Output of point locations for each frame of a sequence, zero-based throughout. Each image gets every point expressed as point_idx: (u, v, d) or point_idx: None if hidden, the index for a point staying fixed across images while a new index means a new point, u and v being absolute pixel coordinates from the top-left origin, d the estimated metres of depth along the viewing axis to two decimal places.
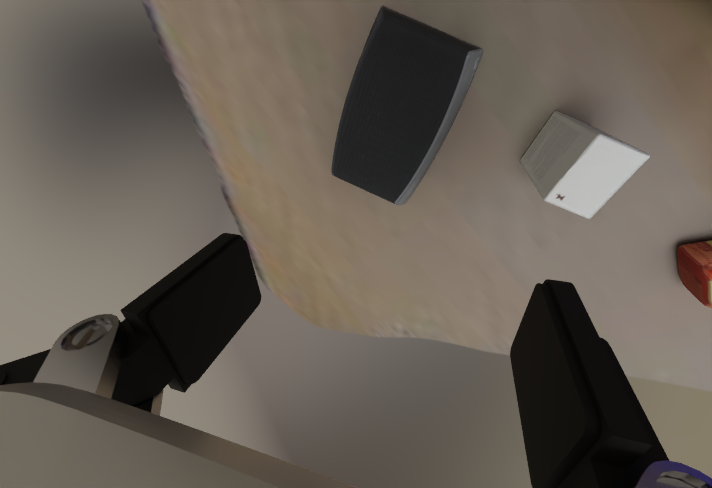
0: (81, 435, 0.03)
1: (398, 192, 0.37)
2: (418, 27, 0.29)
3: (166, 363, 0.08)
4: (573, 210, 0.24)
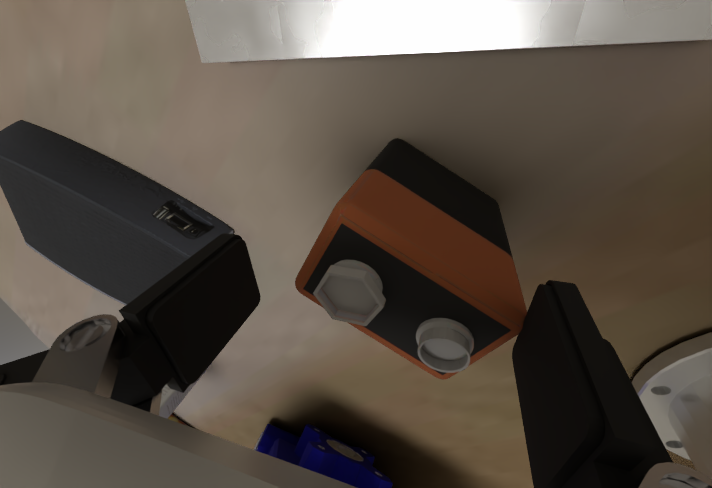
0: (81, 435, 0.03)
1: (36, 248, 0.26)
2: None
3: (165, 364, 0.08)
4: None
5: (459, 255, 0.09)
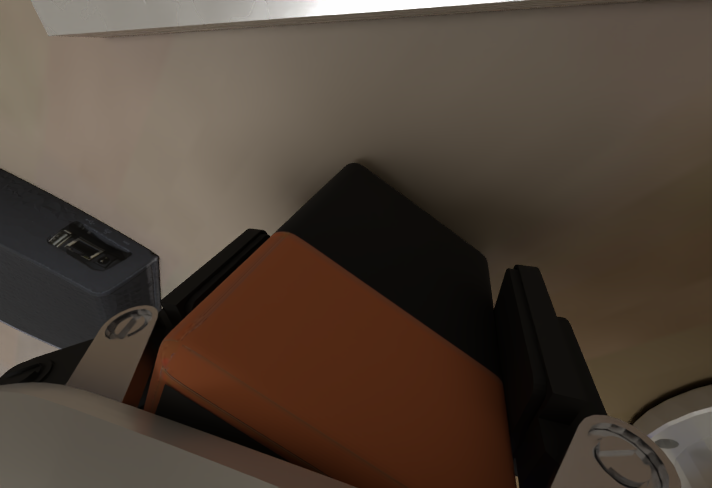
0: (81, 435, 0.03)
1: None
2: None
3: None
4: None
5: (408, 424, 0.05)
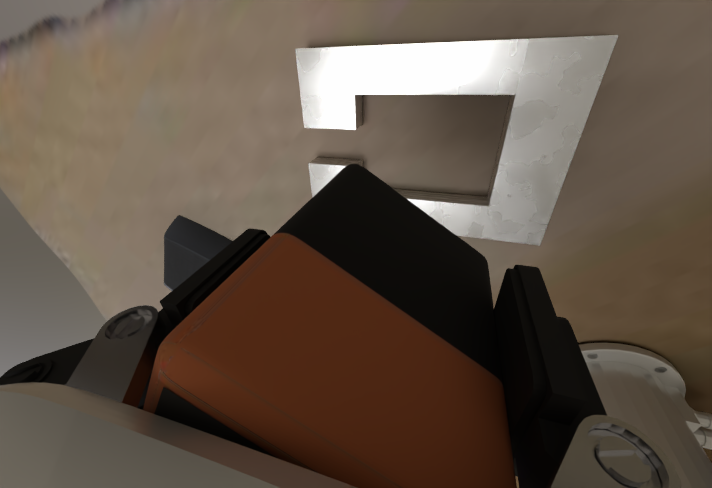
0: (81, 435, 0.03)
1: (173, 288, 0.41)
2: None
3: None
4: None
5: (407, 427, 0.05)
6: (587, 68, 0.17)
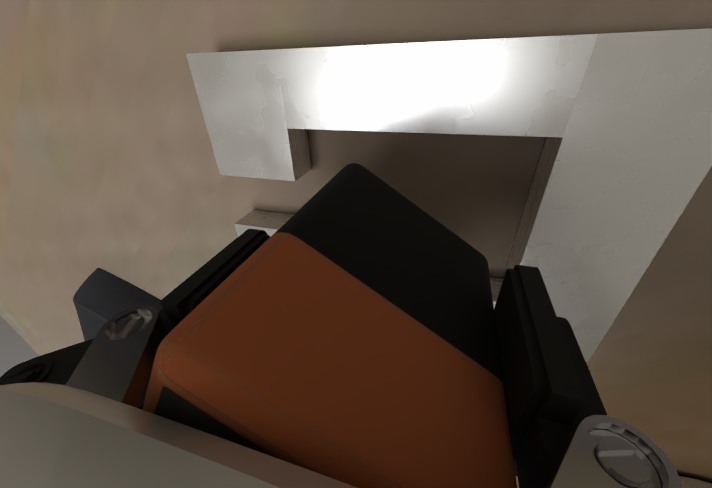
0: (81, 435, 0.03)
1: None
2: None
3: None
4: None
5: (408, 426, 0.05)
6: None
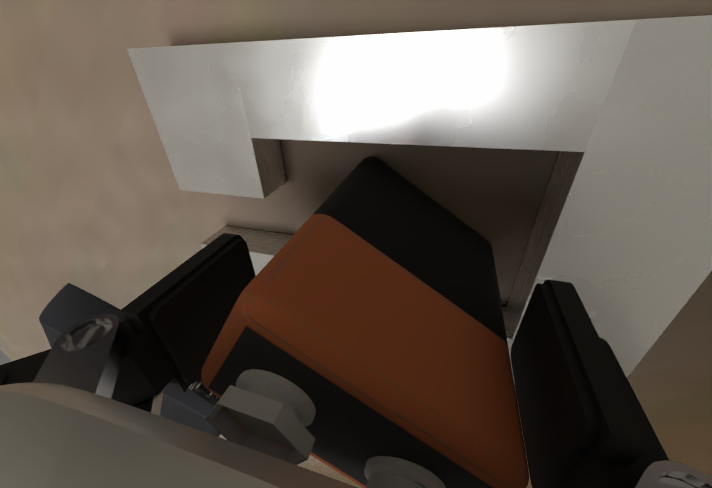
0: (81, 435, 0.03)
1: None
2: None
3: (166, 363, 0.08)
4: None
5: (432, 367, 0.06)
6: None
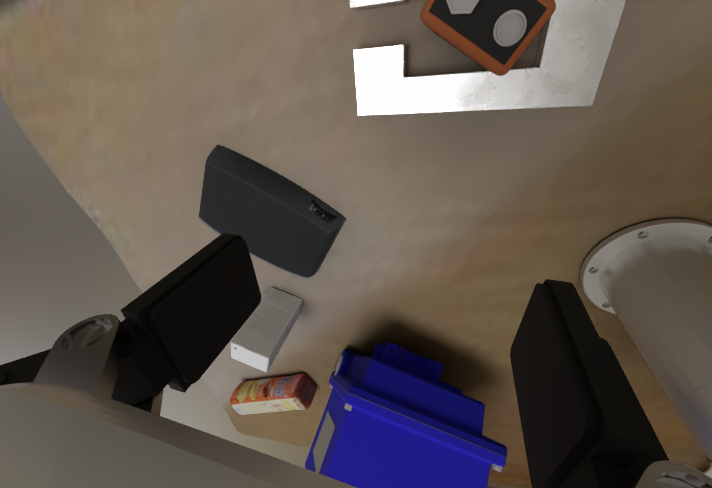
0: (81, 435, 0.03)
1: (208, 222, 0.41)
2: (323, 250, 0.39)
3: (166, 363, 0.08)
4: (231, 353, 0.42)
5: None
6: None
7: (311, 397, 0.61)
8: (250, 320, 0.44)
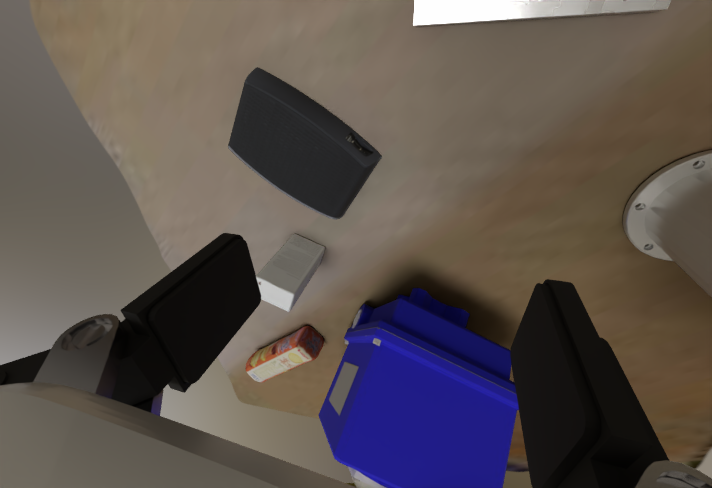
0: (81, 435, 0.03)
1: (238, 152, 0.40)
2: (355, 188, 0.39)
3: (166, 363, 0.08)
4: None
5: None
6: None
7: (317, 348, 0.59)
8: (274, 259, 0.43)
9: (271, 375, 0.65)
